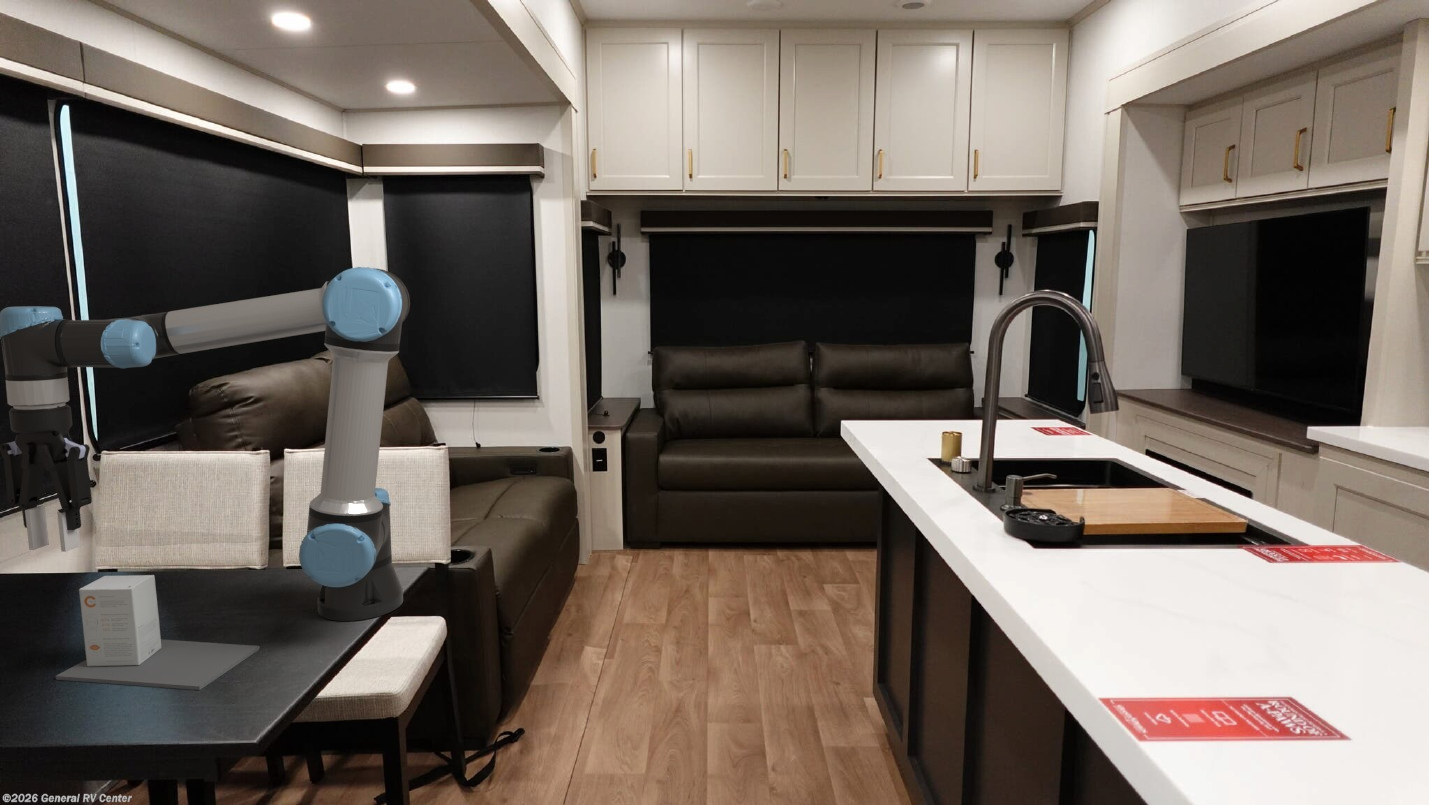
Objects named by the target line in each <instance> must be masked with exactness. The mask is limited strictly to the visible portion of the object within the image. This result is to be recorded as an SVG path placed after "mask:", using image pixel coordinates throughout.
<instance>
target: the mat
mask: <svg viewBox="0 0 1429 805" xmlns="http://www.w3.org/2000/svg"><path fill="white" fill-rule="evenodd" d="M260 649H261V648H260V646H259V645H252V644H251V645H250V644H236V643H235V644H234V643H219V642H204V641H189V640H188V641H187V640H178V639H177V640H176V639H175V640H174V639H162V638H161V649H160V650H158V651H157V652H156V653H155V654H153V655H152V656H151V657H149V658H148V659H147V660H145V661H144V662H143V663H141V664H140V665H124V666H87V660H83V661H81V662H79V663H78V664H75V665H74V666H71V667H70V668H68V669H65V670H64V671H62V672H60V673H58V674H57V675H55V680H57V681H58V680H59V681H72V682H83V683H96V684H98V683H99V684H109V685H110V684H112V685H126V686H136V687H137V686H139V687H140V686H141V687H150V688H151V687H153V688H166V689H179V690H193V691H200V690H201V691H202V689H204V688H205V687H207V686H208V685H209V684H211V683H213V682H214V681H216V680H217V679H218V678H220V677H221V676H223V675H224V674H225V673H227V672H228V671H230V670H231V669H233V668H235V667H236V666H238V665H239V664H240V663H242V662H244V661H245V660H246V659H248V658H249V657H251V656H252V655H254V654H255V653H257V652H259V650H260Z"/></svg>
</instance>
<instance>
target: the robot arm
mask: <svg viewBox="0 0 1429 805" xmlns="http://www.w3.org/2000/svg"><path fill="white" fill-rule="evenodd" d="M410 299H411V298H410V293H409V291H408V289H407V287H406V285H405V284H404V282H403V281H402V280H401V279H400V278H399V277H398V276H396V275H395V274H394V273H392V272H390V271H387V270H385V269H380V268H375V267H369V266H367V267H363V266H361V267H360V266H358V267H357V266H356V267H352V268H348V269H345V270H343V271H341V272H340V273H338V274H337V275H336V276H335V277H334V278H332V279H331V280H328V281H325V283H324V284H323V285H322V286H321V287H320V288H312V289H307V290H302V291H301V290H299V291H295V292H289V293H281V294H276V295H274V294H273V295H270V296H261V297H255V298H250V299H242V300H241V299H240V300H236V301H230V302H223V303H218V304H216V303H215V304H209V305H203V306H202V305H201V306H197V307H189V308H184V309H178V310H171V311H167V312H166V311H165V312H158V313H157V312H156V313H151V314H142V315H136V316H130V317H129V316H128V317H122V318H120V317H119V318H110V319H77V320H76V319H68V318H66V319H65V318H64V316H63V314H62V310H61V309H60V308H58V306H57V307H56V306H40V305H39V306H34V305H33V306H8V307H5V308H3V309H2V310H1V311H0V342H1V349H2V356H3V357H2V358H3V364H4V365H3V366H4V371H5V372H4V373H5V389H6V399H7V405H8V406H11V407H12V408H10V410H9V411H8V415H9V424H10V430H11V432H13V433H16V436H15V439H14V441H11V442H6V443H1V444H0V454H1V456H2V459H3V466H4V468H3V469H4V476H5V477H4V478H5V485H6V487H5V488H6V497H7V502H8V505H11V506H13V505H15V506H17V507H18V508H19V509H20V510H22V511H21V512H22V521H23V526H24V528H26V532H27V540H28V541H27V542H28V549H29V550H33V551H34V550H37V549H40V548H42V547H46V546H49V545H50V543H49V541H50V540H49V534H48V525H47V514H46V506H45V505H42V504H44V501H42V500H41V495H42V494H41V493H42V488H43V487H42V486H43V479H44V473H45V472H44V470H46V472H49V475H50V477H51V480H52V483H53V486H54V490H55V492H56V495H57V497H58V500H59V501H58V502H59V503H60V507H61V508H60V509H57V522H58V524H57V525H58V533H59V543H60V551H61V552H68V551H70V550H74V549H77V548H79V547H81V539H80V528H81V527H82V519H81V518H82V517H81V508H82V507H84V506H87V505H91V504H92V502H93V500H92V490H91V480H90V470H89V462H88V458H89V453H90V450H91V449H90V445H89V444H87V443H86V444H78V443H76V442H74V441H73V439H72V437H71V435H70V433H69V432H70V429H71V427H72V426H73V419H72V418H73V414H72V408H71V406H70V405H69V404H66V403H67V402H69V401H70V400H71V399H70V389H69V381H68V380H69V378H68V368H69V369H71V368H72V369H73V368H119V369H127V368H143V367H146V366H148V365H150V364H152V360H154V359H159V358H165V357H170V356H177V355H180V354H187V353H193V352H200V351H207V350H210V349H211V350H212V349H219V348H224V347H225V348H226V347H230V346H239V345H243V344H250V343H256V342H262V341H269V340H274V339H275V340H276V339H281V338H288V337H292V336H293V337H294V336H299V335H300V336H301V335H305V334H313V333H319V332H324V334H325V335H324V343H323V344H324V346H325V347H326V348H327V349H328V351H330V353H331V355H332V357H333V358H332V365H331V366H332V368H331V375H330V376H331V378H330V390H329V398H328V408H327V421H326V428H325V429H326V430H325V431H326V432H325V441H324V452H323V453H324V454H323V463H322V474H321V483H320V484H321V485H320V493H319V494H318V495H317V496H315V497H314V498H313V499H311V500H310V503H309V507H308V508H309V509H308V516H307V518H308V519H307V528H306V535H304V537H303V539H302V541H301V544H300V545H299V552H298V560H299V564H300V567H301V569H302V571H303V572H304V573H305V575H307V576H308V577H309V578H310V579H311V580H312V581H313V582H315V583H316V584H319V585H321V587H320V590H319V594H318V596H317V613H318V614H319V616H321V618H324V619H327V620H332V621H341V622H351V621H353V622H355V621H361V620H363V621H364V620H368V619H373V618H377V617H381V616H383V615H387V614H389V613H391V612H393V611H395V610H396V609H398V608H399V607H400V606H401V605H402V604H403V602H404V591H403V587H402V584H401V582H400V579H399V577H398V575H397V572H396V569H395V567H394V565H393V559H392V558H393V556H392V529H391V508H390V507H391V504H392V503H391V502H390V501H391V500H390V494H389V492H388V490H386V489H384V488H382V487H376V486H377V475H378V468H379V467H378V465H379V457H380V456H379V455H380V446H381V435H382V428H383V427H382V426H383V418H384V417H383V416H384V405H385V398H386V388H387V376H388V368H389V362H390V360H391V359H392V358H394V357H395V356H396V355H398V353H400V344H401V343H400V342H401V336H402V335H401V334H402V325H403V322H405V320H406V318H407V317H408V314H409V312H410V306H411V301H410Z"/></svg>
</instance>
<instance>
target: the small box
mask: <svg viewBox="0 0 1429 805" xmlns="http://www.w3.org/2000/svg"><path fill="white" fill-rule="evenodd" d="M156 590H157V589H156V579H155V575H154V574H151V575H150V574H147V575H146V574H144V575H142V574H141V575H140V574H139V575H103V576H102V577H100V578H98V579H96V580H94V581H92V582H90V583H88V584H87V585H84V586H83V587H80V588H79V589H78V593H79V600H80V602H79V604H80V611H81V622H82V627H83V628H82V631H83V642H84V650H85V658H86V660H87V666H124V665H140V664H141V663H143V662H144V661H145V660H147V659H148V658H149V657H151V656H152V655H153V654H155V653H156V652H157V651H158V650H160V649H161V639H162V638H161V630H160V629H161V628H160V618H159V617H160V616H159V610H158V608H159V607H158V600H157V597H158V596H157V591H156Z"/></svg>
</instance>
